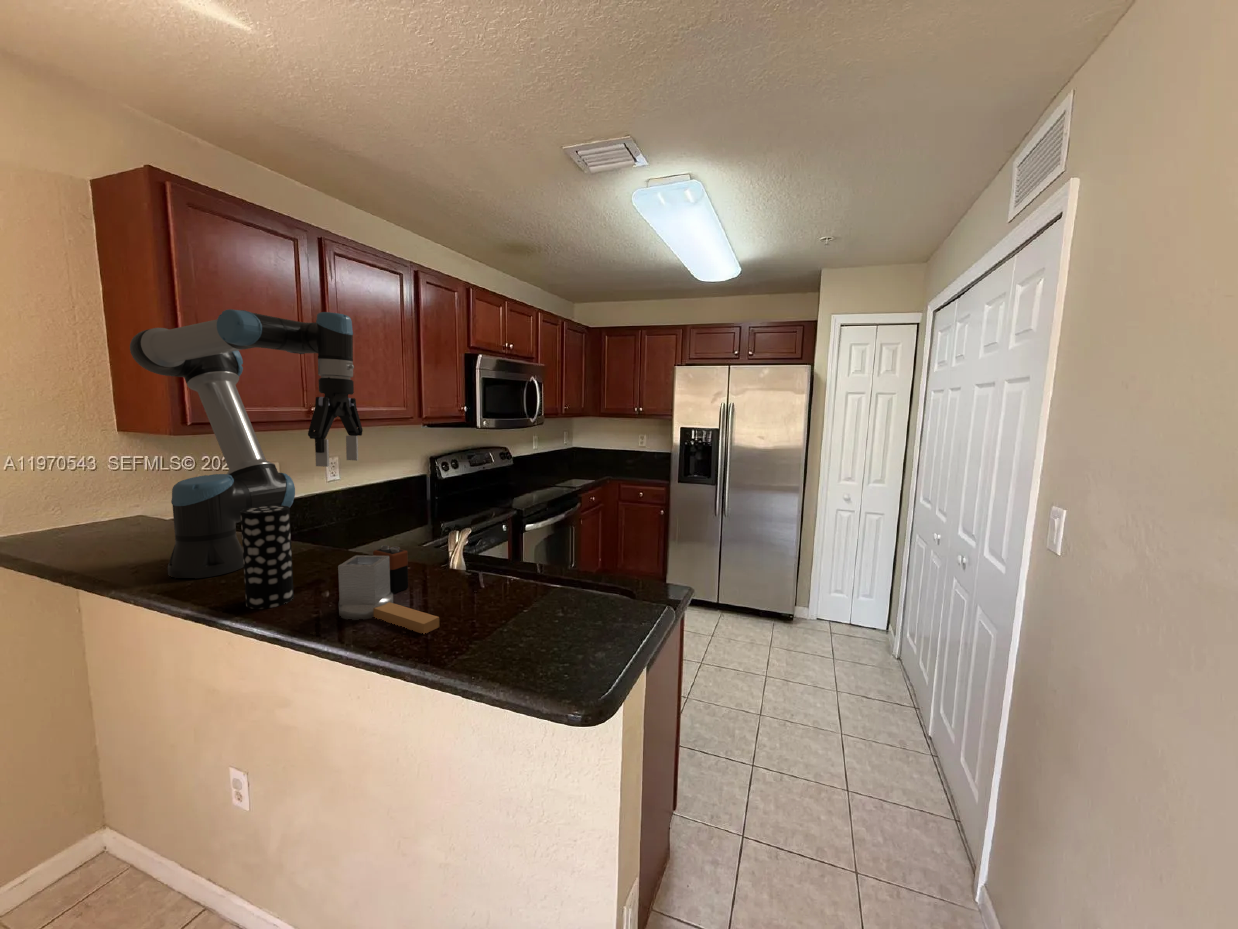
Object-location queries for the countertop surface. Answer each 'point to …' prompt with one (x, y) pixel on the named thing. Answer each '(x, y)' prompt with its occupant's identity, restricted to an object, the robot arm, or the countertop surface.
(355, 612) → the ratchet
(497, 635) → the countertop surface
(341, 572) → the recessed metal cube
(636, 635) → the countertop surface
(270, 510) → the white-spotted black cylinder
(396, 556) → the battery
